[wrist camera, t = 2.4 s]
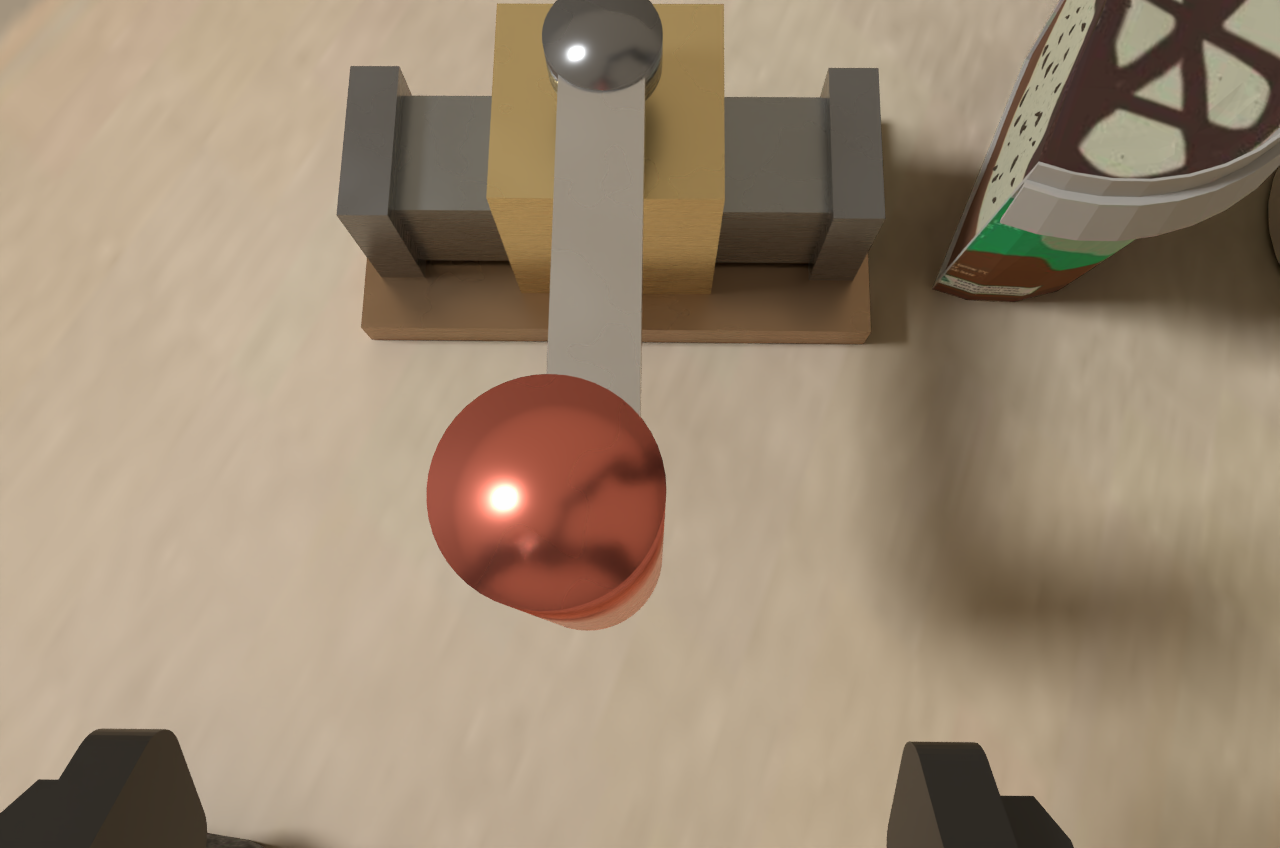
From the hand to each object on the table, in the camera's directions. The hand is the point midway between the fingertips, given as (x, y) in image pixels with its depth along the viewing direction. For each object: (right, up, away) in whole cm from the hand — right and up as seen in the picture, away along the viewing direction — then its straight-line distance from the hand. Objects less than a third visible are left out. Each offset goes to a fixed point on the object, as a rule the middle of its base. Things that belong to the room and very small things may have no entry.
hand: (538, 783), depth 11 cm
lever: (0, +7, +12) cm, 13 cm away
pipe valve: (0, +11, +22) cm, 24 cm away
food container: (+15, +11, +22) cm, 29 cm away
